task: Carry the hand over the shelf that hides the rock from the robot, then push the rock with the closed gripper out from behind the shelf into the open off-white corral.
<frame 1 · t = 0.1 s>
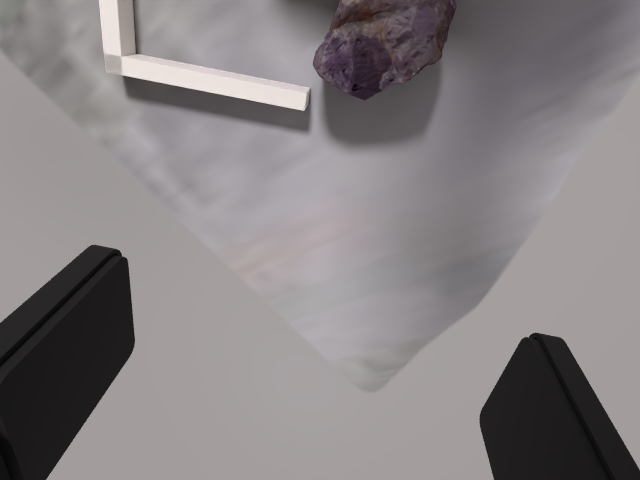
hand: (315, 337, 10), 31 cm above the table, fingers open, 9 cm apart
rock: (384, 9, 34), on the table
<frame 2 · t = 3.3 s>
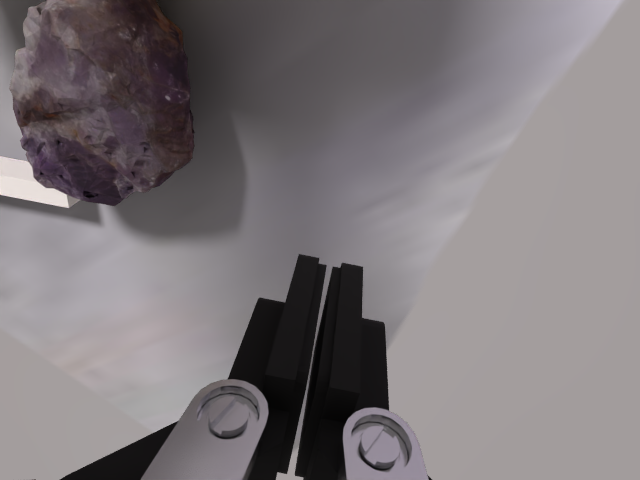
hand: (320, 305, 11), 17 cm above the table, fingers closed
rock: (152, 79, 25), on the table
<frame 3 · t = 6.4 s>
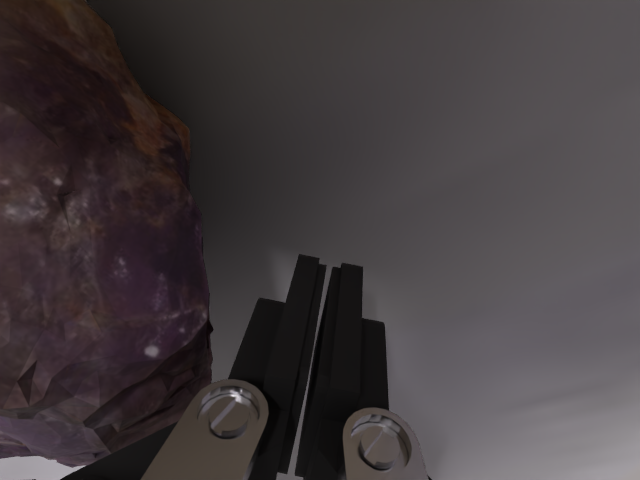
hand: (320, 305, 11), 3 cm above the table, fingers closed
rock: (133, 197, 14), on the table, touching gripper
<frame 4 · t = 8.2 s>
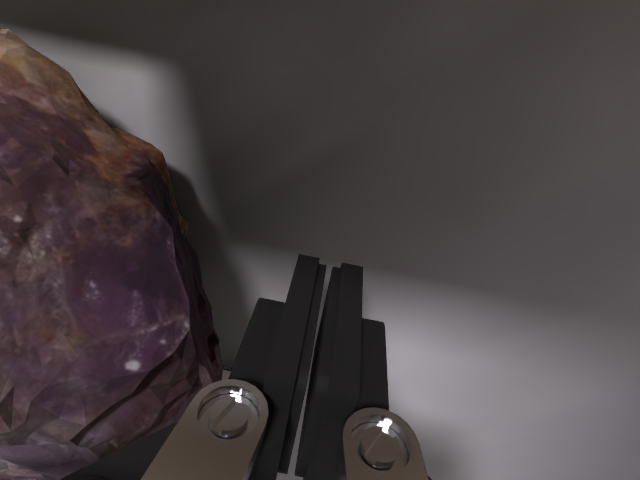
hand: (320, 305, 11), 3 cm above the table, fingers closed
rock: (134, 229, 14), on the table, touching gripper
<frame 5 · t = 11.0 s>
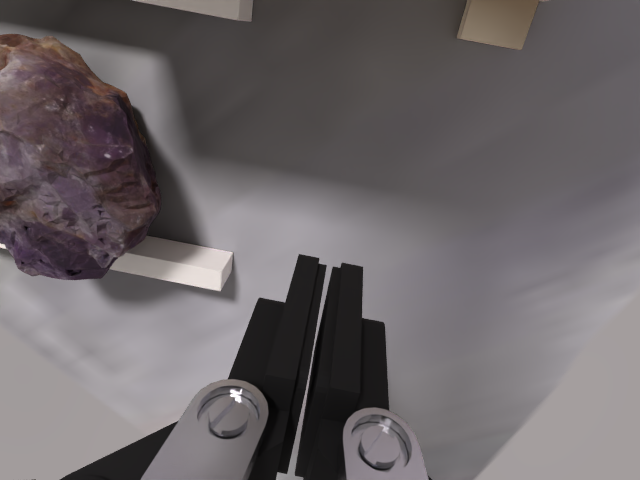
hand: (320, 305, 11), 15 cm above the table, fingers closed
rock: (118, 147, 26), on the table
corral: (110, 126, 25), on the table
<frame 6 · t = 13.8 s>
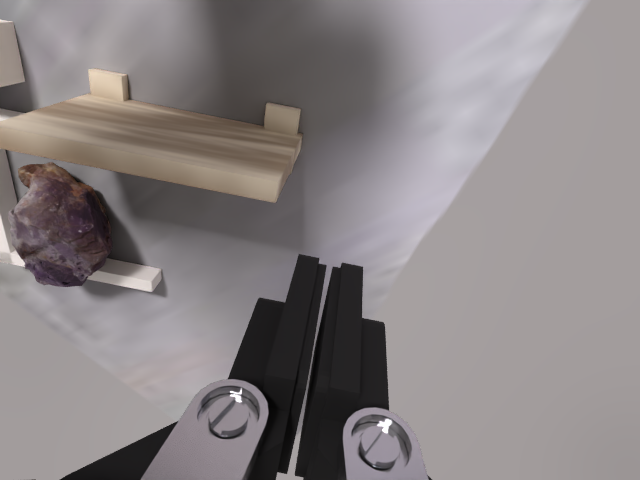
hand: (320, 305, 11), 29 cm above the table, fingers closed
rock: (90, 211, 45), on the table
shelf: (197, 121, 39), on the table
corral: (86, 201, 44), on the table
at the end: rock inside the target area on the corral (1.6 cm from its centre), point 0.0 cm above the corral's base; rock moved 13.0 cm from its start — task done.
